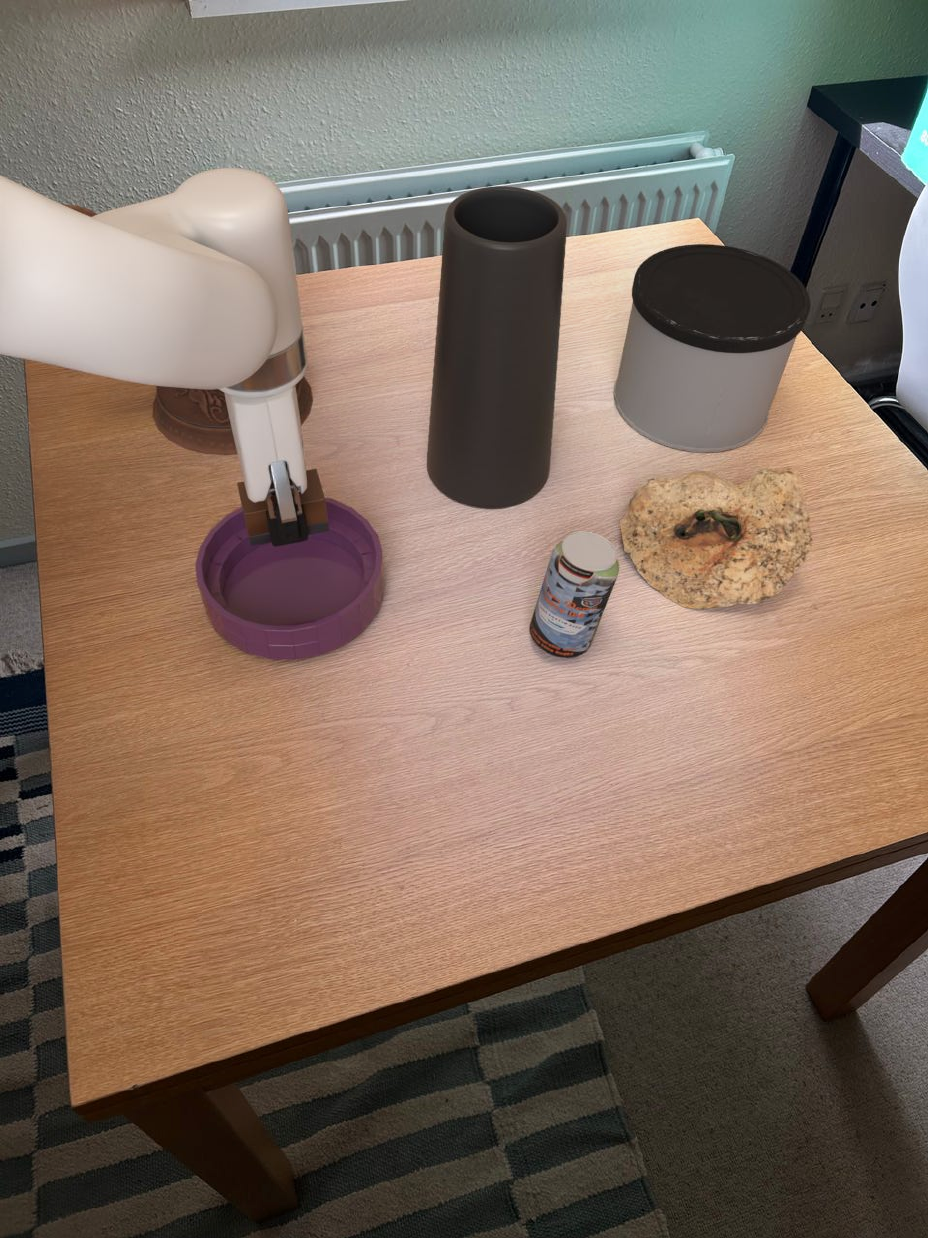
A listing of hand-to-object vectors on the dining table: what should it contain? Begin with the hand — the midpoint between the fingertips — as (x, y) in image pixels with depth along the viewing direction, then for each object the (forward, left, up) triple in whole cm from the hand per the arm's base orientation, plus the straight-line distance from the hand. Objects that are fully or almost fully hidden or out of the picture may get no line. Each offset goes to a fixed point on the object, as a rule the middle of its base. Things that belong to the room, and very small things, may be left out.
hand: (285, 521), depth 82 cm
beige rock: (+25, -33, -10) cm, 42 cm away
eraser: (0, 0, 0) cm, 0 cm away
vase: (+26, -7, -10) cm, 28 cm away
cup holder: (+17, +26, -10) cm, 32 cm away
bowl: (0, 0, -10) cm, 10 cm away
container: (+49, -22, -10) cm, 54 cm away
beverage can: (+9, -25, -10) cm, 28 cm away
